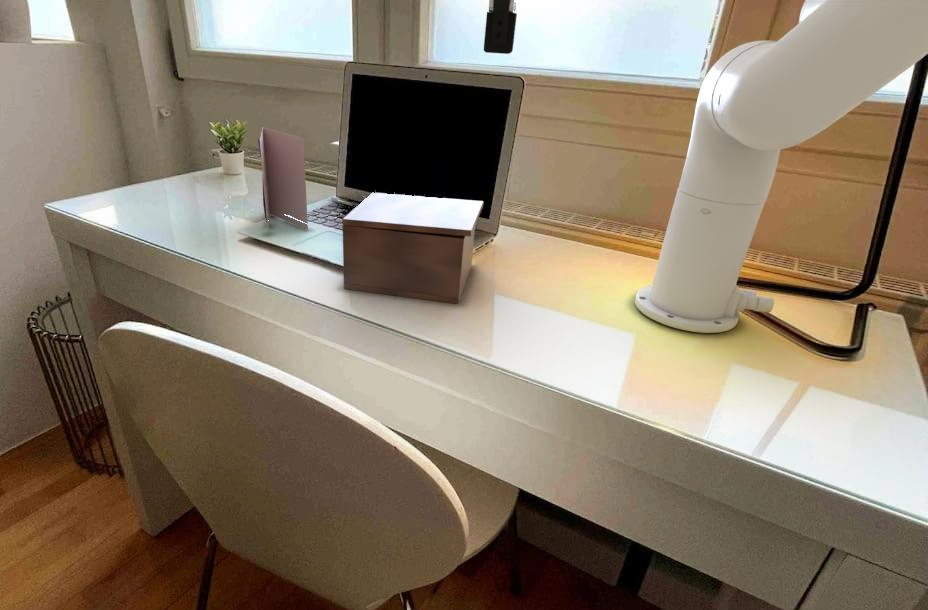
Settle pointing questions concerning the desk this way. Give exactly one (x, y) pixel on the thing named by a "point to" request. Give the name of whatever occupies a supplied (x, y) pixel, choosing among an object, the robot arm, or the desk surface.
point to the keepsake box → (406, 262)
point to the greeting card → (283, 177)
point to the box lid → (416, 214)
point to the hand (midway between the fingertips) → (497, 52)
